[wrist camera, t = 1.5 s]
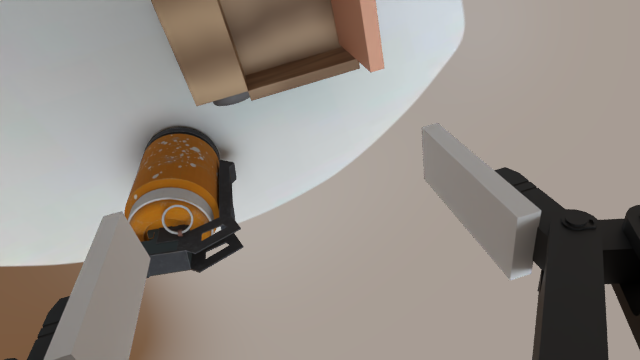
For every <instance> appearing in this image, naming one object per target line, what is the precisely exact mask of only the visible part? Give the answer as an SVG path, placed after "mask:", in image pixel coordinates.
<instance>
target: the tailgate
mask: <svg viewBox="0 0 640 360" xmlns="http://www.w3.org/2000/svg"><path fill="white" fill-rule="evenodd" d="M331 4H332V10H333V15H334V20H335V25H336V30H337V36H338V41H339V44H340V45H341V46H342V47H343V48H344V49H345V50H346V51H347V52H348V53H350V54H351V55H352V56H353V57H354V58H355V59H356V60H357V61H359V62H360V63H361V64H362V65H363V66H364V67H365V68H366V69H368V70H369V71H370V72H374V71H377V70H381V69H384V61H383V54H382V46H381V38H380V31H379V23H378V16H377V8H376V1H375V0H331Z"/></svg>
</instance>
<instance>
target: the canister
mask: <svg viewBox="0 0 640 360" xmlns="http://www.w3.org/2000/svg"><path fill="white" fill-rule="evenodd" d="M235 180H236V172H235V165H234V163H233V162H228V161H223V160H220V159H219V154H218V151H217V148H216V147H215V145H214V144H213V142H212V141H211V140H210V139H209V138H208V137H206V136H205V135H204V134H202V133H200V132H198V131H195V130H192V129H189V128H171V129H167V130H164V131H162V132H160V133H158V134H157V135H156V136H154V137H153V138H152V139H151V140H150V142H149V143H148V145H147V147H146V149H145V152H144V155H143V158H142V161H141V164H140V166H139V169H138V172H137V175H136V178H135V181H134V183H133V186H132V189H131V192H130V195H129V198H128V200H127V203H126V207H125V217H126V219H127V220H128V222H129V224H130V225H131V227H132V229H133V230H134V232H135V234H136V235H137V237H138V239H139V240H140V242H141V244H142V245H143V247H144V248H145V250H146V252H147V253H148V255H149V257H150V263H149V268H148V272H147V277H146V278H149V277H150V276H154V275H161V274H168V273H173V272H180V271H187V270H193V271H196V272H199V273H200V272H201V271H203V270H205V269H207V268H208V267H210V266H212V265H214V264H215V263H217V262H219V261H220V260H222V259H224V258H226V257H227V256H229V255H231V254H233V253H234V252H236V251H238V250H239V249H241V248H243V245H242V244H241V242H240V241H239V240H238V238H237V237H236V235H235V234H234V233H235V232H236V231H238V230H240V229H241V228H240V227H239V225H238V224H237V223H236V221H235V215H234V208H233V199H232V183H233V182H234V181H235ZM219 226H221V231H219V232H217V233H215V234H213V233H214V232H215V230H216V228H217V227H219ZM225 243H227V244H229V246H228V247H226V248H224V249H223V250H221V251H219V252H217V253H216V254H214V255H212V256H210V257H209V258H207V259H205V258H206V252H207V251H210V250H212V249H214V248H216V247H218V246H221V245H223V244H225Z"/></svg>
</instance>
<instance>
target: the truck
mask: <svg viewBox="0 0 640 360" xmlns="http://www.w3.org/2000/svg"><path fill="white" fill-rule="evenodd" d="M151 2H152V4H153V6H154V9H155V11H156V13H157V15H158V18H159V20H160V22H161V25H162V27H163V29H164V32H165V34H166V36H167V39H168V41H169V43H170V46H171V48H172V50H173V52H174V55H175V57H176V59H177V62H178V64H179V66H180V69H181V71H182V73H183V76H184V78H185V80H186V83H187V85H188V87H189V89H190V92H191V94H192V96H193V99H194V101H195V103H196V106H199V105H203V104H206V103H209V102H213V103H214V104H215V105H217V106H227V105H232V104H236V103H239V102H241V101H244V100H246V99H247V98H249V97H250V98H251V101H252V100H256V99H259V98H262V97H266V96H269V95H272V94H276V93H279V92H282V91H286V90H289V89H292V88H296V87H299V86H302V85H306V84H309V83H313V82H316V81H319V80H323V79H326V78H329V77H333V76H336V75H339V74H343V73H346V72H349V71H353V70H356V69H359V68H360V66H359V61H357V60H356V59H355V58H354V57H353V56H352V55H351V54H350V53H348V52H347V51H346V50H345V49H344V48H343V47H342V46H341V45H340V44H339V41H338V36H337V30H336V25H335V20H334V15H333V10H332V4H331V0H151Z"/></svg>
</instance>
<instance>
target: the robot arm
mask: <svg viewBox="0 0 640 360" xmlns="http://www.w3.org/2000/svg"><path fill="white" fill-rule="evenodd" d="M422 146H423V166H424V179H425V180H426V182H427V183H428V184H429V185H430V186H431V187H432V189H433V190H434V191H435V192H436V193H437V194H438V196H439V197H440V198H441V199H442V200H443V201H444V203H445V204H446V205H447V206H448V208H449V209H450V210H451V211H452V212H453V213H454V215H455V216H456V217H457V218H458V219H459V221H460V222H461V223H462V224H463V225H464V226H465V228H466V229H467V230H468V231H469V232H470V234H471V235H472V236H473V237H474V238H475V239H476V240H477V242H478V243H479V244H480V245H481V246H482V248H483V249H484V250H485V251H486V252H487V254H488V255H489V256H490V257H491V258H492V259H493V260H494V262H495V263H496V264H497V265H498V267H499V268H500V269H501V270H502V271H503V272H504V274H505V275H506V276H507V277H508V278H509V279H510V280H513V279H516V278H519V277H522V276H525V275H528V274H531V271H532V265H533V261H534V262H535V263H536V264H537V265H538V266H539V267H540V268H541V269H542V270H541V275H540V281H539V287H538V291H539V295H538V306H537V316H536V326H535V336H534V346H533V357H532V360H608V345H607V344H608V342H607V324H606V306H605V286H604V284H611V285H612V287H613V289H614V291H615V294H616V296H617V298H618V301H619V303H620V305H621V308H622V310H623V312H624V315H625V317H626V319H627V321H628V324H629V326H630V328H631V331H632V333H633V335H634V338H635V340H636V342H637V345H638V347H639V349H640V205H636V206H634V207H631V208H630V209H629V210H628V211H627V213H626V216H625V219H611V220H610V219H609V220H597V219H596V218H595V217H594V216H592V215H590V214H588V213H586V212H583V211H579V210H569V209H568V210H567V209H564V208H563V207H562V206H561V205H559V204H558V203H557V202H555V201H554V200H553V199H551V198H550V197H549V196H548V195H547V194H545V193H544V192H543V191H541V190H540V189H539V188H536V186H535V185H534V184H533V183H531V182H529V181H528V180H527V179H526V178H525V177H524V176H522V175H521V174H520V173H518V172H516V171H513V170H511V169H508V168H501V169H498V170H493V169H492V168H491V167H489V166H488V165H487V164H486V163H485V162H484V161H482V160H481V159H480V158H479V157H478V156H476V155H475V154H474V153H473V152H472V151H471V150H469V149H468V148H467V147H466V146H465V145H463V144H462V143H461V142H460V141H459V140H458V139H456V138H455V137H454V136H453V135H452V134H451V133H449V132H448V131H447V130H446V129H445V128H443V127H442V126H441V125H440V124H439V123H436V124H432V125H428V126H425V127H422ZM149 263H150V257H149V255H148V253H147V252H146V250H145V248H144V247H143V245H142V244H141V242H140V240H139V239H138V237H137V235H136V234H135V232H134V230H133V229H132V227H131V225H130V224H129V222H128V220H127V219H126V217H125V216H124V214H123V212H122V211H121V212H118V213H114V214H110V215H107V216H103V218H102V221H101V223H100V226H99V228H98V230H97V233H96V235H95V238H94V240H93V242H92V245H91V247H90V250H89V252H88V254H87V257H86V259H85V261H84V264H83V266H82V269H81V271H80V273H79V276H78V279H77V281H76V283H75V286H74V288H73V290H72V293H71V295H70V296H68V297H65V298H61V299H59V301H58V302H57V303H56V304H55V305H54V307H53V308H52V309H51V310H50V311H49V313H48V315H47V317H46V319H45V321H44V324H43V328H42V329H41V330H40V332H39V334H38V339H37V340H36V341H35V343H34V345H33V348H32V350H31V352H30V354H29V356H28V359H27V360H129V356H130V351H131V347H132V342H133V337H134V333H135V328H136V323H137V319H138V314H139V309H140V305H141V300H142V296H143V291H144V286H145V282H146V277H147V272H148V268H149ZM5 360H17V359H15V358H10V359H5Z"/></svg>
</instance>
